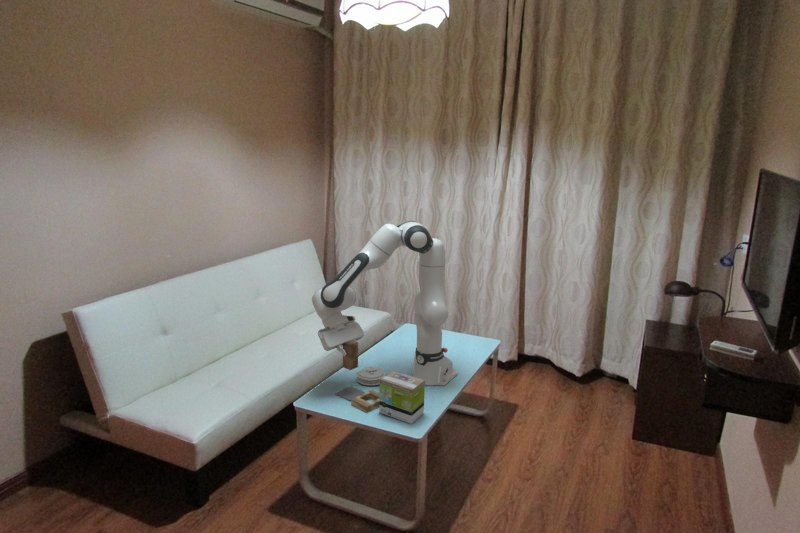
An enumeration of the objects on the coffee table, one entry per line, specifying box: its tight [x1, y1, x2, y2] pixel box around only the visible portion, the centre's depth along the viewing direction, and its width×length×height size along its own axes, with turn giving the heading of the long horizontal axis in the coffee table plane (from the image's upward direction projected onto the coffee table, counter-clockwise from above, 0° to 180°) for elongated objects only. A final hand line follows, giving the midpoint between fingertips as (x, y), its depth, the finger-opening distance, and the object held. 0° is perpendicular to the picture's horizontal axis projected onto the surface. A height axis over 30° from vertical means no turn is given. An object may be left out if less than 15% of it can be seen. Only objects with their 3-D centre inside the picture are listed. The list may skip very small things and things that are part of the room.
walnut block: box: [342, 340, 359, 371], centre depth 214 cm, size 4×4×11 cm
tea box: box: [378, 370, 426, 425], centre depth 201 cm, size 15×10×15 cm
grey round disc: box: [356, 366, 387, 386], centre depth 230 cm, size 13×13×5 cm
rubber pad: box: [334, 385, 366, 402], centre depth 218 cm, size 9×9×1 cm
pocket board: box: [350, 389, 380, 414], centre depth 210 cm, size 12×9×2 cm
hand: (351, 353), depth 213 cm, fingers closed on walnut block, 4 cm apart
